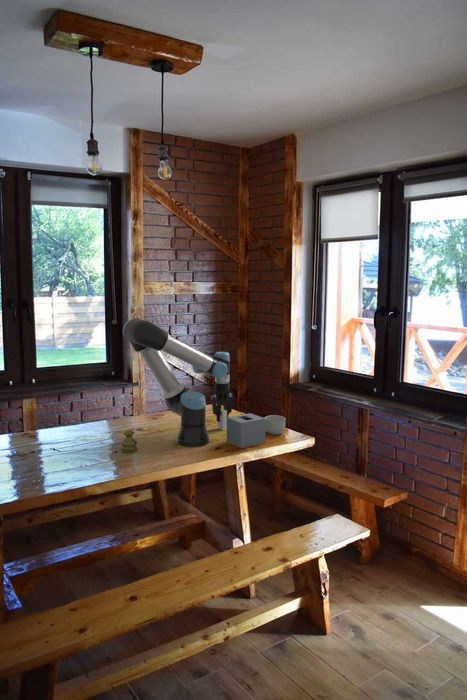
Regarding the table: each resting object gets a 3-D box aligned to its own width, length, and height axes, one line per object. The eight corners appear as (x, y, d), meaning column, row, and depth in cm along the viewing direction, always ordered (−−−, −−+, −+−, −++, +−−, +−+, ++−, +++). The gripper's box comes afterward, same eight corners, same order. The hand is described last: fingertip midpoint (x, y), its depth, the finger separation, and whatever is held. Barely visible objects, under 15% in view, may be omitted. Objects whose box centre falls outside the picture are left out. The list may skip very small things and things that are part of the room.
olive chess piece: (119, 449, 266) (119, 428, 264) (135, 447, 268) (135, 426, 267) (122, 454, 259) (121, 432, 257) (139, 452, 261) (138, 431, 260)
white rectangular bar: (222, 430, 297) (222, 411, 295) (217, 428, 301) (217, 409, 299) (227, 429, 298) (227, 410, 297) (221, 427, 302) (221, 408, 301)
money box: (240, 448, 268) (241, 423, 266) (226, 441, 278) (226, 417, 276) (265, 443, 275) (265, 418, 274) (250, 437, 285) (250, 413, 284)
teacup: (285, 430, 297) (285, 415, 296) (285, 436, 286) (285, 420, 285) (258, 429, 298) (258, 414, 297) (257, 435, 287) (257, 420, 286)
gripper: (213, 385, 289) (213, 431, 292) (239, 381, 297) (238, 426, 301) (205, 382, 295) (205, 427, 298) (230, 379, 303) (230, 423, 307)
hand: (222, 426), depth 299 cm, fingers closed on white rectangular bar, 2 cm apart
